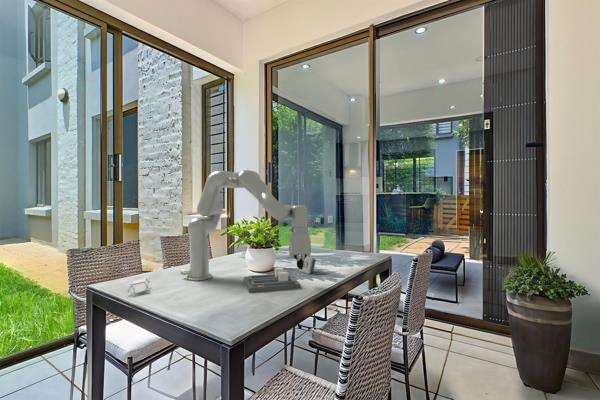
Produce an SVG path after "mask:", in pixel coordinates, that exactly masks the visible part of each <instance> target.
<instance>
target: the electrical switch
mask: <svg viewBox="0 0 600 400" xmlns="http://www.w3.org/2000/svg"><path fill="white" fill-rule="evenodd" d="M303 261H304V266H303V269H299V268H297V269H298V272H300V273H303V274H307V275H310V274H313V273H314V270H315V265H316V261H317V260H316V259H314V257H313V256H307V257H306V258H305V259H304V260H303Z"/></svg>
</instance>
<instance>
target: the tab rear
mask: <svg viewBox="0 0 600 400" xmlns="http://www.w3.org/2000/svg"><path fill="white" fill-rule="evenodd" d="M278 272H285V268H284V267H283V266H282V267H274V274H275V277H278Z"/></svg>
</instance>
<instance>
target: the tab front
mask: <svg viewBox="0 0 600 400" xmlns="http://www.w3.org/2000/svg"><path fill="white" fill-rule="evenodd" d="M288 274H289V272H287V271H284V272H278V281H279V282H281V281H288Z"/></svg>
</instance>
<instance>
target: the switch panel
mask: <svg viewBox="0 0 600 400" xmlns="http://www.w3.org/2000/svg"><path fill="white" fill-rule="evenodd" d="M243 281H244V284H245V286H246V289H247V291H248V293H252V294H253V293H262V292H274V291H285V290H297V288H299V289H301V283H300V282H299V281H298V280H297V279H296V278H295V277H294V276H293V275H292V274H291V273H288V281H281V282H279V281H278V277H275V273H270V274H269V273H268V274H258V275H256V274H255V275H253V274H252V275H248V276H243Z"/></svg>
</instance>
